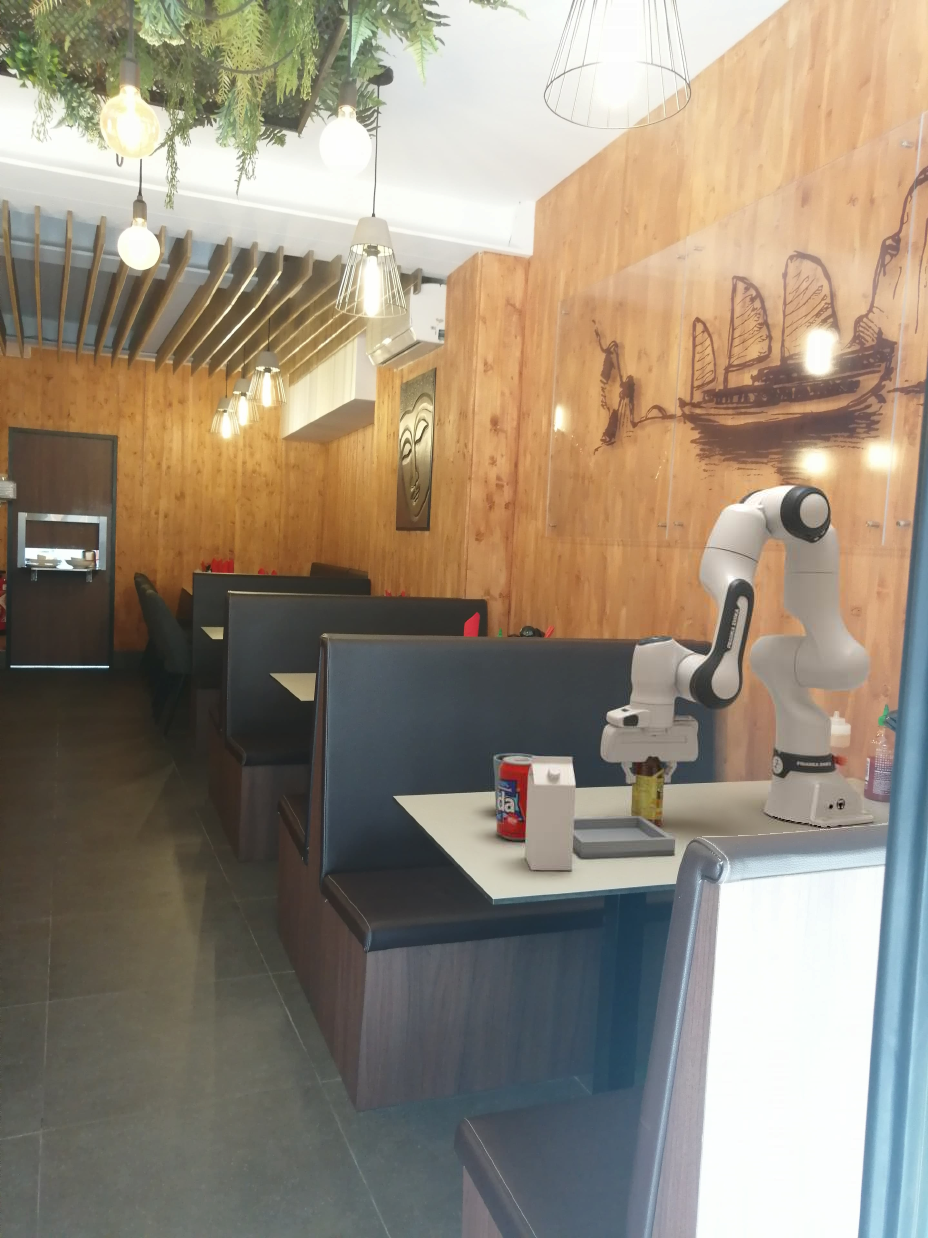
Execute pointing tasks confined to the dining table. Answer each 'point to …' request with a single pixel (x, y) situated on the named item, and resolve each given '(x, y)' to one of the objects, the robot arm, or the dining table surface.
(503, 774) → the soda can
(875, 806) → the dining table surface
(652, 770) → the sauce bottle
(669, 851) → the tray
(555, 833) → the milk carton
